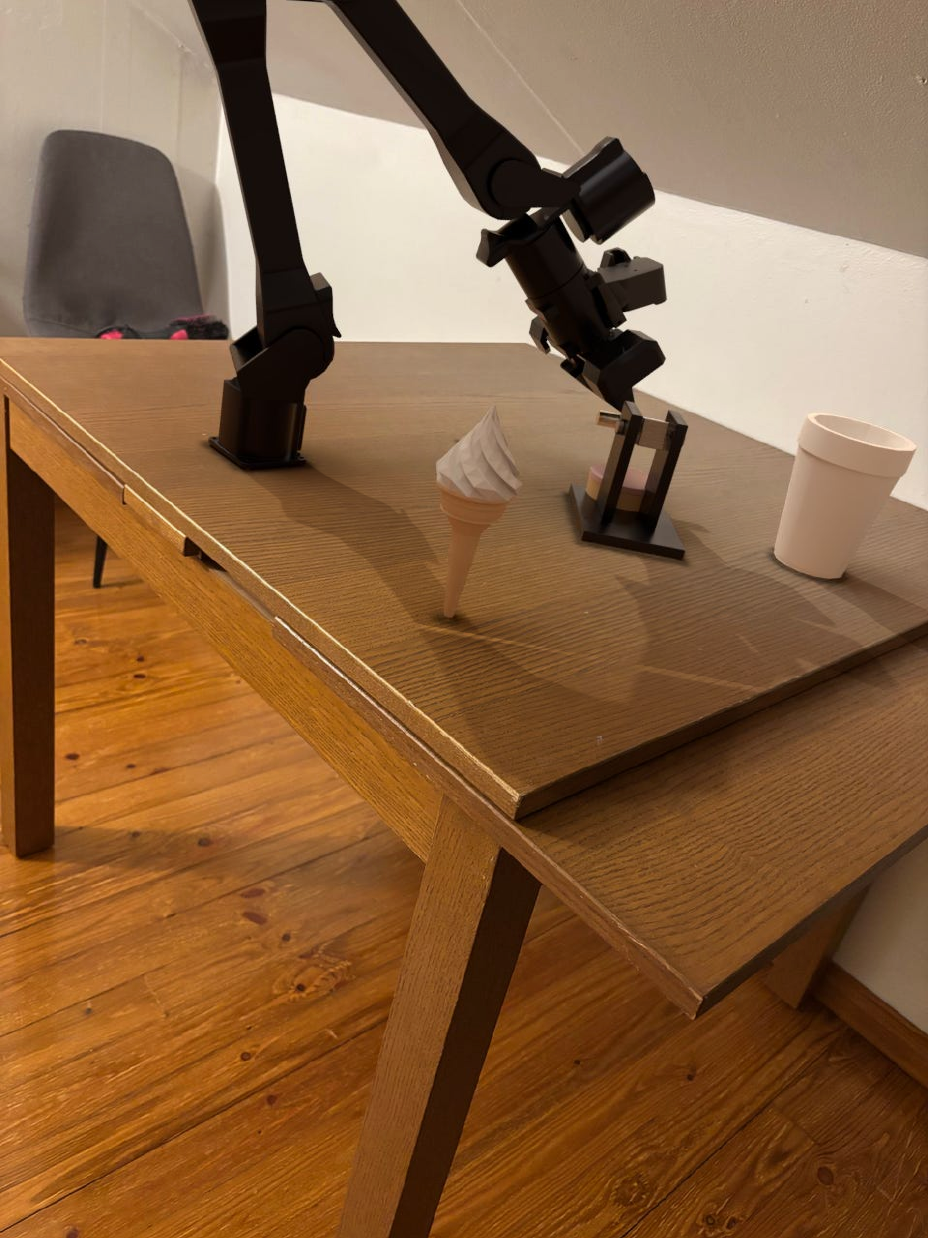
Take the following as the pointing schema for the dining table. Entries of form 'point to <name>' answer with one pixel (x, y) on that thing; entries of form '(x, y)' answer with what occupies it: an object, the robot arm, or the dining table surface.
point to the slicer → (651, 522)
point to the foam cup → (837, 491)
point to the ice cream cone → (474, 496)
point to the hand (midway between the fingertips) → (630, 413)
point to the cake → (630, 489)
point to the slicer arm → (649, 432)
